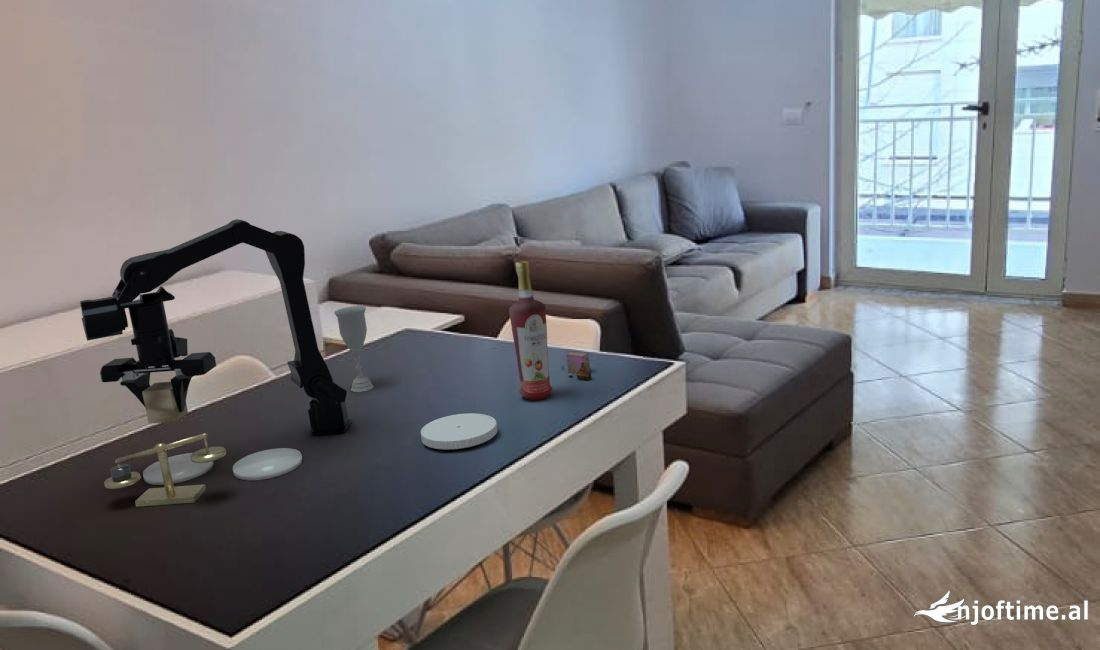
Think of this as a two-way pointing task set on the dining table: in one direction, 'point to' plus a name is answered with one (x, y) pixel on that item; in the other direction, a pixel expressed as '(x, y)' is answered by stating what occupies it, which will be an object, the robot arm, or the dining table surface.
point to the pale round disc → (177, 470)
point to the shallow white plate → (267, 464)
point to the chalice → (354, 340)
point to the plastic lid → (459, 431)
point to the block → (161, 404)
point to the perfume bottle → (579, 365)
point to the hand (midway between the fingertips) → (167, 412)
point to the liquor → (530, 338)
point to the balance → (164, 474)
